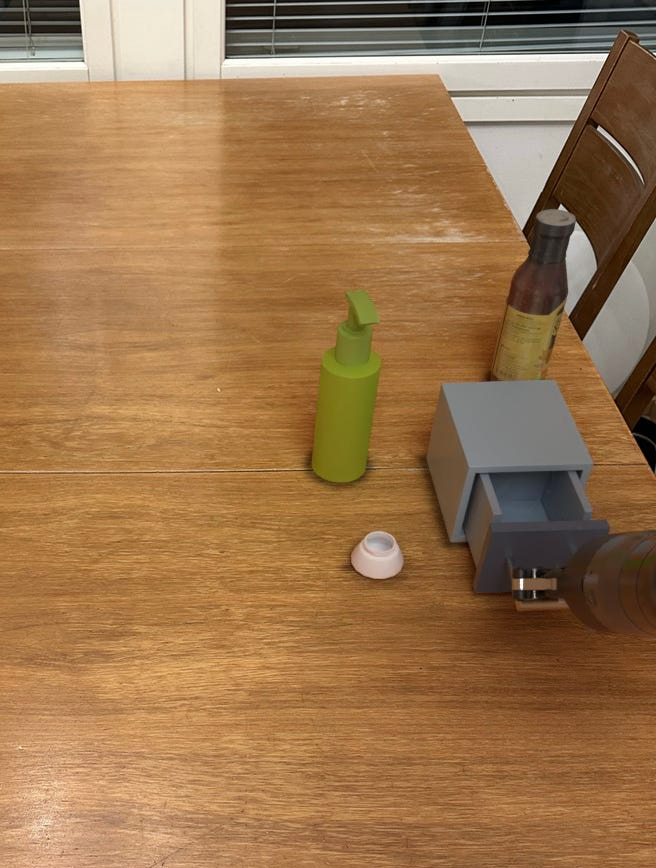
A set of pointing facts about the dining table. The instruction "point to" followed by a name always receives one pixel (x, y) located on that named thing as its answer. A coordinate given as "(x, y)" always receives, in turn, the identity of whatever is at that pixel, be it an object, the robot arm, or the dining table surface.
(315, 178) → the dining table surface
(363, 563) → the white jar
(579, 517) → the compartment
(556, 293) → the sauce bottle
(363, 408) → the soap dispenser
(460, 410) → the drawer unit
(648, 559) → the robot arm
